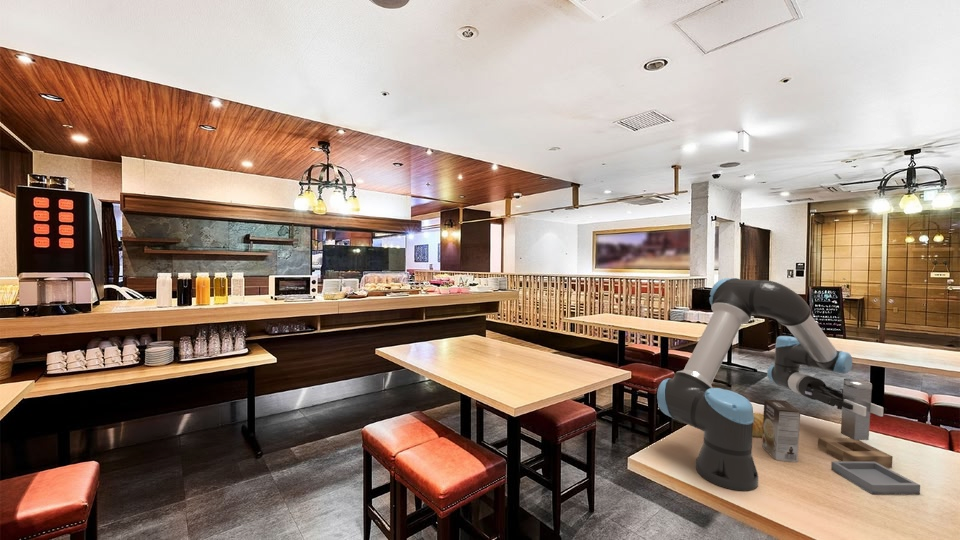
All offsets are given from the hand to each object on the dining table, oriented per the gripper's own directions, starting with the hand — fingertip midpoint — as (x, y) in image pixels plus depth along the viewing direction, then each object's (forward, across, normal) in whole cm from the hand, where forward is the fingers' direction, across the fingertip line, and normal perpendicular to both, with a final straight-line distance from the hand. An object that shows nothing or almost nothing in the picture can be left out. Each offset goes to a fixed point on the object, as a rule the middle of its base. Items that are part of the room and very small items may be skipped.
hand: (873, 411), depth 119 cm
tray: (+8, +7, -17) cm, 20 cm away
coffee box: (-7, +22, -17) cm, 29 cm away
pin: (-5, 0, -10) cm, 11 cm away
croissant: (-24, +18, -17) cm, 34 cm away
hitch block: (-5, 0, -17) cm, 18 cm away
